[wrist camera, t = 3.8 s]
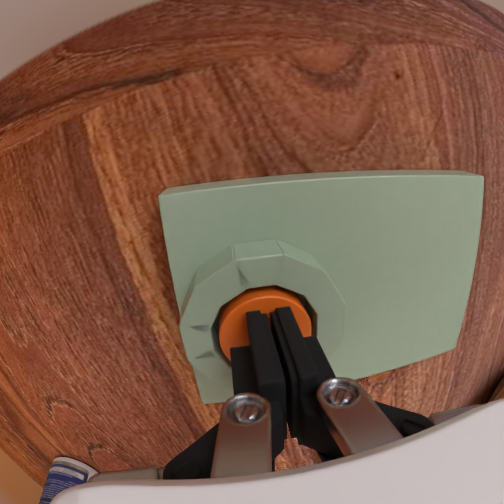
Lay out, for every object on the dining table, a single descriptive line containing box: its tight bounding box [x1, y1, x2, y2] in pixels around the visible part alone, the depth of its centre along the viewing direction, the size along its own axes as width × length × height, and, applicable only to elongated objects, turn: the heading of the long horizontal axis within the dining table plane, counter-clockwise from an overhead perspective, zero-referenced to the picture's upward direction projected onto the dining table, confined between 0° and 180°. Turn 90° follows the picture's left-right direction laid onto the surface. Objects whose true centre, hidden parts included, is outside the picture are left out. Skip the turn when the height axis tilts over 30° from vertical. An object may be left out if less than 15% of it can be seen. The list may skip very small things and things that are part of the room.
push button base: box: [158, 170, 484, 404], centre depth 14 cm, size 16×11×4 cm
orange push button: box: [218, 285, 312, 361], centre depth 12 cm, size 4×4×2 cm
